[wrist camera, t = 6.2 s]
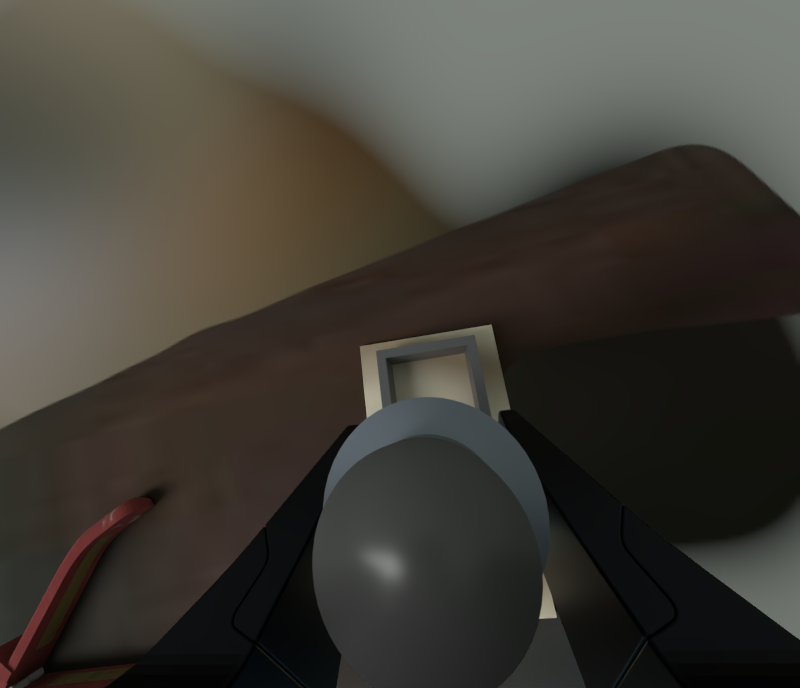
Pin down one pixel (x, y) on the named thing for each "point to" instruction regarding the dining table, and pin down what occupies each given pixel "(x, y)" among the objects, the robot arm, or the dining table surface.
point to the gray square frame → (427, 352)
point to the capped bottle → (431, 548)
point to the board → (444, 385)
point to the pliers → (66, 612)
